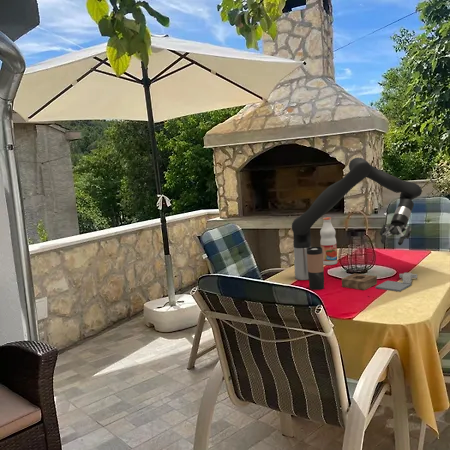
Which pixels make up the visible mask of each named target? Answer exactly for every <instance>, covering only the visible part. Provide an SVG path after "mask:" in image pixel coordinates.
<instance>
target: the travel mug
mask: <svg viewBox="0 0 450 450" xmlns="http://www.w3.org/2000/svg"><path fill="white" fill-rule="evenodd" d="M307 264H308V277H309V279H308V286H309V289H310V290H312V291H320V290H324V289H325V269H324V264H323V253H322V248H321V246H311V247H309V248H307Z"/></svg>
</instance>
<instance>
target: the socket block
mask: <svg viewBox="0 0 450 450" xmlns="http://www.w3.org/2000/svg"><path fill="white" fill-rule="evenodd" d="M377 285H378V276H377V275H372V274H370V275H369V274H363V273H355V272H354V273H352V274H349V275H348V276H345V277H343V278H341V287H342V288H347V289H354V290H362V291H366V290H368V289H369V288H372V287H373V286H377Z"/></svg>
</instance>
